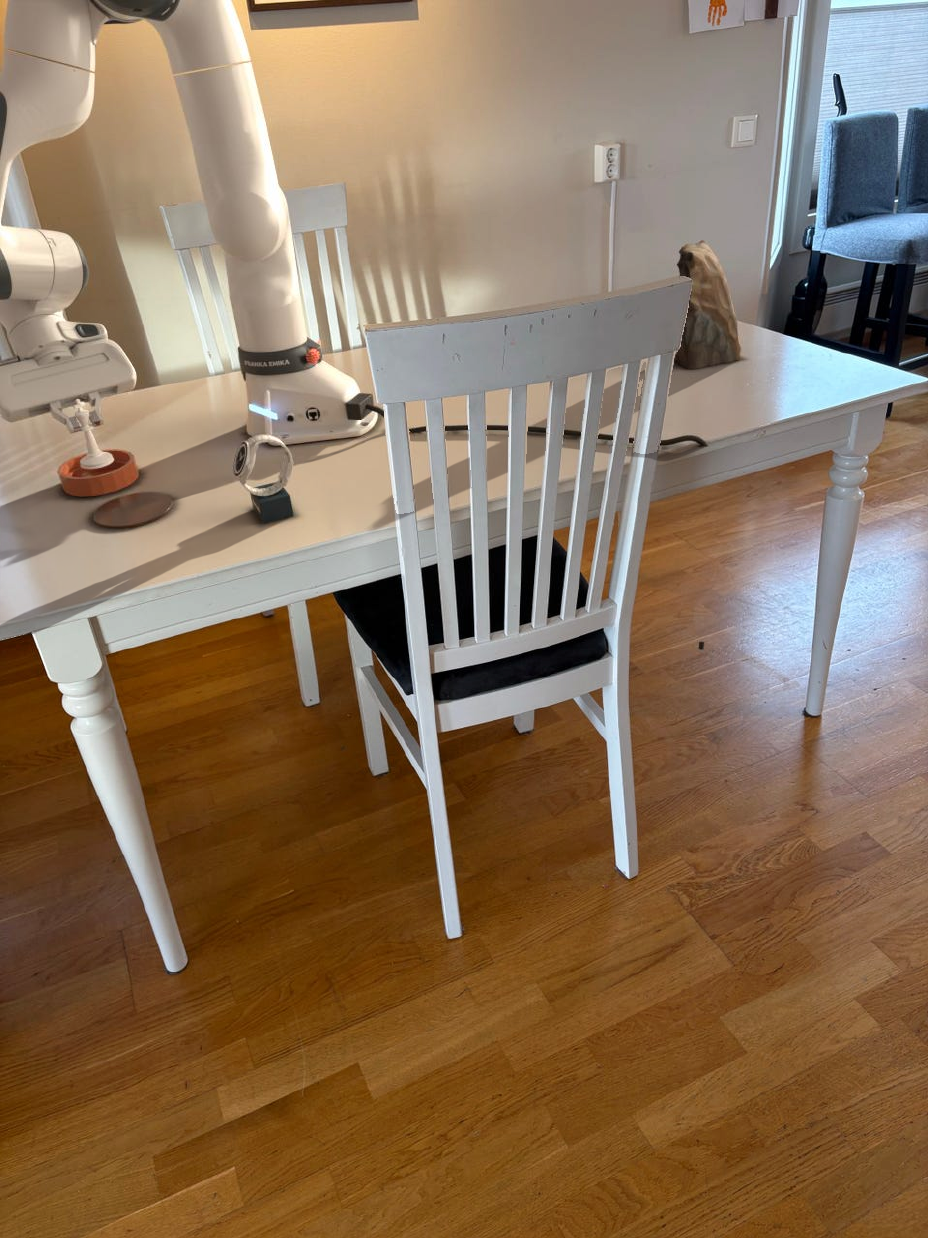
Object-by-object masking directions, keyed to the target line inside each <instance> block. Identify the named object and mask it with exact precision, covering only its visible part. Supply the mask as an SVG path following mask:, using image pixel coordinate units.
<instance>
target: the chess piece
mask: <svg viewBox="0 0 928 1238" xmlns="http://www.w3.org/2000/svg"><path fill="white" fill-rule="evenodd" d="M75 401H76V405H73V406H72V407H73V409H75V410H77V411H75V412H74V416H75V417H76V419H77V421H78V423H79V424H80V431H79V432H84V437H85V442H86V449H87V452H86V453H87V454H86V455H87V456H85V457H83V458H82V459H81V460H80V464H81V467H82V468H84V469H97V468H102V467H105V466H107V465H109V464H111V463H112V462H113V461H114V458H113V456H112V454H110V453H108V452H102V450H103V449H100V448H99V446H98V443H97V442H96V439H95V437H94V435H93V432H92V430H93V429H94V428H95V427H94V426H93V425H92V423H90V420H89V412H90V411H89V410H87V409H83V406H86V403H84V402H80V399H76V400H75Z"/></svg>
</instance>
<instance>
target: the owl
mask: <svg viewBox="0 0 928 1238" xmlns="http://www.w3.org/2000/svg"><path fill="white" fill-rule="evenodd" d="M678 254H679V260H678V262H677V263H676V266H677V268H678V272H679V277H680V276H686V277H689V278H691V279H692V280H693V285H692V291H691V295H690V300H689V308H688V313H687V318H686V323H685V327H684V332H683V335H682V341H681V347H680V349H679V350H678V352H677V351H676V356H675V360H674V362H675V363H677V365H678V366H683V367H684V368H686V369H687V370H695V369H703V368H704V367H712V366H716V365H721V364H728V363H732V362H735V361H736V362H737V361H740V360H742V357H741V352H742V349H743V348H742V346H741V342H740V336H739V329H738V318H737V315H736V313H735V309H734V305H733V300H732V297H731V292H730V287H729V284H728V281H727V278H726V274H725V271H724V267H723V266H722V264H721V262H720V260H719V259H718V257H717V256H716V255H715V253H714V252H713V250H712V249H711V247H710V246H709V244H707V243H706V241H705V240H703V239H702V240H700V241H699V242H696V243H687V244H684V245H683V246H681V248H680V249H679V250H678Z"/></svg>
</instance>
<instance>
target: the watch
mask: <svg viewBox="0 0 928 1238" xmlns="http://www.w3.org/2000/svg"><path fill="white" fill-rule="evenodd" d="M267 442H275V443H277V444H280V445H279V446H281V447H282V448H283V449H284V453H283V455H284V457H283V461H282V465H281V469H280V472H279V474H278V476H277V478H278V480H277V481H274V482H270V483H267V484H262V485H258V486H254V487H252V486H250V485H248V484H247V478H249V476H250V475H251V474H252V471H253V470H254V467H255V464H256V461H257V460H256V459H257V451H258V448H259V445H260V444H264V443H267ZM232 467H233V469H232V471H233V475H234V477H235V478H237V480H238V482H239V483H240V484H241V485H242V487H243V488H244V489H245V490H246V491H247V492H248V493H249V495H250V500H251V503H252V508H253V510H254V512H255V514H256V515H257V516H258V518H259V519H260V521H261V522H262V523H263V524H268V523H271V522H275V521H279V520H284V519H286V518H291V517H294V516H295V515H294V510H293V504H292V499H291V495H290V493H289V492H288V491H287V490H286V488H285V487H286V486H287V485H288V482H289V480H290V479H291V476H292V472H293V468H294V459H293V456H292V453H291V451H290V449H289V448H288V447H287V446H286V445H285V444H284V443H283V442H282V441H281V440H279V439H278V438H276V437H274V436H270V435H257V436H251V437H249V438H248V439H247V440H243V441H242V442H241V443H240V444H239V446H238V448H237V450H236V452H235V456H234V460H233V465H232Z"/></svg>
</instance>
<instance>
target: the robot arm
mask: <svg viewBox="0 0 928 1238" xmlns="http://www.w3.org/2000/svg"><path fill="white" fill-rule="evenodd" d="M5 11H6V13H5V18H4V34H3V35H4V36H3V38H4V39H3V49H4V50H3V58H2V59H3V60H2V66H1V71H0V324H1V325H2V326H3V328H5V331H6V336H7V340H8V343H9V345H10V346H11V348H12V350H13V352H14V355H15V356H11V357H7V358H4V359H0V418H1V419H2V420H4V421H6V422H8V423H17V422H19V421H24V420H26V419H30V418H34V417H37V416H43V415H45V414H49V413H50V415H51V416H52V418H53V419H55V420H56V421H58V422H59V423H60V424H62V425H64V426H66V429H67V431H68V432H69V434H70V435H71V434H74V433H75V434H76V433H79V432H81V431H80V427H81V424H80V422H79V421H78V419H77V418H76V416H75V415H74V416H71V417H70V416H69V415H67V414H66V413H65V412H63V410H64V409H67V408H71V407H73V405H76V401H75V400H76V399H80V402H84V403H85V404H87V403H88V404H89V406H90V407H92V408H93V407H94V408H93V411H89V423H90V424H91V425H93V426H94V428H96V427H100V426H103V425H104V418H103V416H102V414H101V412H100V409H101V399H105V398H109V397H112V396H117V395H119V394H120V395H121V394H123V393H128V392H131V391H133V390H134V389H135V387H136V384H137V378H138V377H137V372H136V369H135V368H134V366H133V364H132V362H131V361H130V359H129V357H128V356H127V355H126V352H124V350H123V349H122V348H121V347H120V345H119V344H118V343H117V342H115V341H114V340H112V339H110V338H109V337H108V331H107V329H106V327H105V326H104V325H103V324H102V323H96V322H95V323H93V322H91V323H90V322H76V321H68V320H66V319H65V317H64V314H63V313H64V310H66V309H69V308H70V307H71V306H72V305H73V304H74V303H75V301H76V300H77V299H78V298H79V297H80V295H81V294H82V293H83V291H84V290H85V289H86V287H87V285H88V283H89V280H90V268H89V264H88V261H87V258H86V255H85V254H84V251H83V250H82V247H81V246H80V244H79V243H78V242H77V240H75V238H74V237H72V235H70V234H69V233H67V232H61V231H56V230H50V229H43V228H42V229H41V228H27V227H18V226H9V225H2V217H3V212H4V211H3V210H4V206H5V205H4V204H5V199H6V193H7V187H8V182H9V175H10V170H11V167H12V164H13V162H14V160H15V159H16V157H18V155H19V154H20V153H21V152H22V151H24V150H25V149H27V148H30V147H31V146H34V145H38V144H41V143H45V142H48V141H52V140H57V139H60V138H63V137H65V136H69V135H70V134H72V133H74V132H75V131H77V130H78V129H80V128H81V127H82V126H83V125H84V124H85V123H86V121H87V120H88V119H89V117H90V115H91V113H92V109H93V105H94V104H93V103H94V97H95V83H96V81H95V79H96V78H95V77H96V76H95V75H96V74H95V72H96V54H97V53H96V51H97V43H98V37H99V33H100V31H101V29H102V27H103V26H105V25H128V24H134V23H135V24H136V23H138V22H141V21H145V22H147V23H148V24H150V25H151V26H152V27H153V28H154V29H155V31H156V32H157V33H158V35H159V37H160V38H161V41H162V43H163V45H164V48H165V51H166V54H167V58H168V61H169V65H170V69H171V72H172V75H173V80H174V83H175V87H176V90H177V95H178V98H179V101H180V105H181V108H182V112H183V115H184V119H185V122H186V126H187V130H188V133H189V137H190V141H191V146H192V151H193V155H194V160H195V165H196V170H197V175H198V179H199V183H200V188H201V192H202V196H203V201H204V206H205V208H206V210H205V211H206V213H207V218H208V221H209V225H210V229H211V232H212V235H213V238H214V239H215V242H217V243H216V244H218V246H219V247H220V248H221V250H223V254H224V262H225V269H226V276H227V285H228V295H229V301H230V306H231V311H232V316H233V321H234V326H235V330H236V335H237V341H238V347H237V353H238V355H237V356H238V364H239V368H240V372H241V375H242V378H243V379H242V380H243V381H244V382H245V389H246V400H247V419H246V428H245V429H246V433H247V434H248V435H249V436H251V437H253V436H257V435H270V436H274V437H276V438H278V439H279V440H281V441H282V442H283V443H284V444H285V446H286V445H294V444H304V443H310V442H311V443H312V442H320V441H327V440H328V441H329V440H336V439H337V440H338V439H347V438H353V437H360V436H362V435H363V436H364V435H365V434H367V433H368V432H370V431H371V430H372V429H373V428H374V427H375V425H376V423H377V421H378V414H379V415H380V416H381V417H382V418H383V419H384V411H385V410H384V409H383V408H381V407H378V406H375V403H374V394H373V393H366V392H365V393H364V392H361V390H360V388H359V386H358V383H357V382H356V380H355V379H354V378H353V377H352V376H350V375H348V374H346V373H344V372H343V371H340V369H338V368H336V367H334V366H333V365H331V364H329V363H328V362H326V361H324V360H323V353H322V342H321V340H320V339H318V341H317V342H316V341H314V340H313V339H311V338H309V337H308V334H307V329H306V322H305V316H304V310H303V302H302V298H301V291H300V284H299V278H298V277H299V276H298V268H297V261H296V254H295V253H296V252H295V247H294V240H293V234H292V233H293V232H292V226H291V225H292V224H291V219H290V213H289V212H290V211H289V205H288V201H287V197H286V196H285V193H284V192H283V190H282V189H281V187H280V185H279V181H278V175H277V171H276V167H275V163H274V156H273V151H272V148H271V143H270V137H269V132H268V127H267V122H266V119H265V115H264V110H263V106H262V101H261V97H260V93H259V89H258V86H257V81H256V76H255V73H254V67H253V64H252V61H251V55H250V52H249V47H248V44H247V41H246V38H245V34H244V32H243V31H244V30H243V28H242V26H241V22H240V19H239V17H238V15H237V12H236V9H235V7H234V4H233V1H232V0H7V3H6V10H5ZM177 74H178V75H177ZM468 425H469V424H459V425H458V424H455V425H444V426H445V431H444V432H461V431H464V432H465V431H469V430H468ZM486 425H487V430H486V431H497V432H500V431H501V432H504V431H505V432H509V431H508V425H509V424H507V425H505V424H486ZM426 426H427V425H423V426H418V427H412V428H408V429H409V431H410V434H419V433H424V432H426V433H427V431H426ZM546 428H547V427H544V426H530V425H529V426H528V432H527V433H540V434H547V433H546ZM581 431H582V430H574V429H565V430H564V435H563V436H567V437H568V436H569V437H577V438H581V437H580V436H581ZM613 435H614V434H607V433H599V435H598V439H597V440H602V441H611V442H613V441H612V440H613ZM629 437H630V436H629ZM634 438H635V437H630V438H629V443H628V444H633V441H634ZM660 440H661V443H660V446H659V447H667V446H671V445H676V444H680V443H684V442H694V443H697V444H698V445H699V446H701V447H709V443H708V442H707V441H706V439H704V438H702V437H700V436H698V435H694V434H685V435H681V436H675V437H673V438H668V439H660ZM266 443H268V444H269V445H270V446H274V447H275V446H276V447H277V446H281V445H280V444H277V443H275V442H266ZM704 649H705V641H698V650H700V651H702V650H703V651H704Z"/></svg>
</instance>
